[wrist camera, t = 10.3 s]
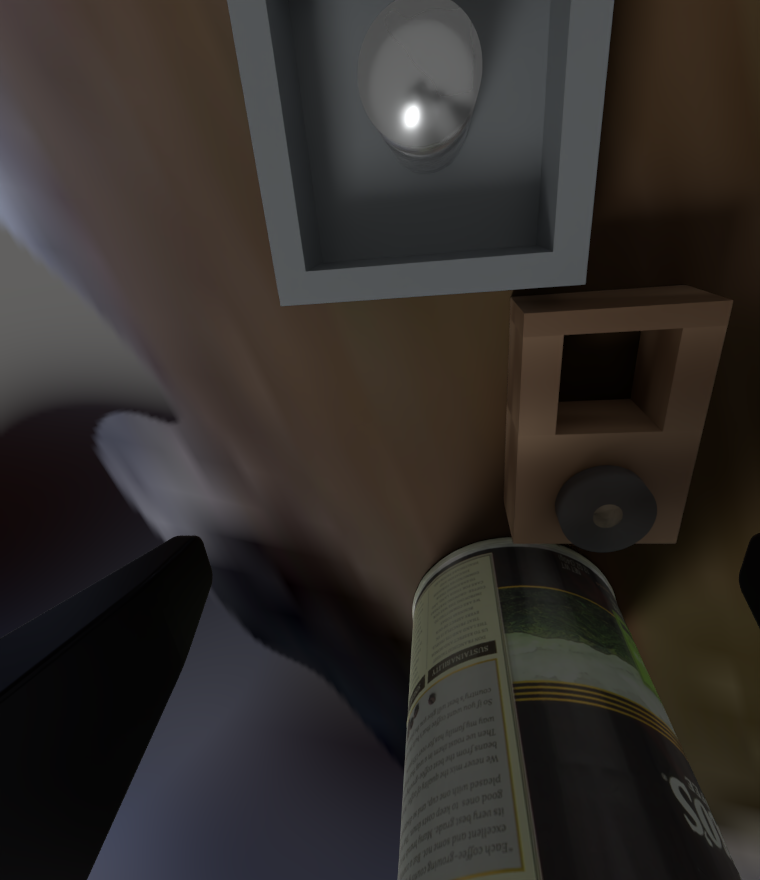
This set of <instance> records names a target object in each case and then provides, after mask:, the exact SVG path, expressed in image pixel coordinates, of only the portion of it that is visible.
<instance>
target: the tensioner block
mask: <svg viewBox="0 0 760 880" xmlns="http://www.w3.org/2000/svg"><path fill="white" fill-rule="evenodd" d="M733 301H734V300H731V299H728V298H725V297H722V296H719V295H716V294H713V293H710V292H707V291H703V290H700V289H697V288H694V287H691V286H688V285H675V286H660V287H646V288H631V289H617V290H602V291H588V292H573V293H559V294H544V295H530V296H515V297H510V326H509V355H508V385H507V414H506V443H505V472H504V506H505V510H506V514H507V519H508V523H509V527H510V532H511V536H512V541H513V544H574V545H576V546H577V547H579V548H582V549H584V550H587V551H592V552H613V551H618V550H621V549H624V548H627V547H629V546H631V545H633V544H676V541H677V537H678V533H679V529H680V524H681V520H682V516H683V512H684V508H685V503H686V499H687V495H688V491H689V486H690V482H691V478H692V474H693V470H694V465H695V461H696V457H697V453H698V448H699V444H700V440H701V436H702V432H703V427H704V423H705V419H706V415H707V410H708V406H709V402H710V398H711V394H712V389H713V385H714V381H715V377H716V373H717V368H718V364H719V360H720V356H721V351H722V347H723V343H724V339H725V335H726V330H727V326H728V322H729V318H730V313H731V309H732V305H733ZM627 331H641V334H640V340H639V346H638V353H637V359H636V366H635V372H634V378H633V385H632V391H631V397H630V399H615V400H590V401H565V402H558V398H559V386H560V374H561V363H562V351H563V339H564V335H575V334H592V333H609V332H627Z"/></svg>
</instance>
